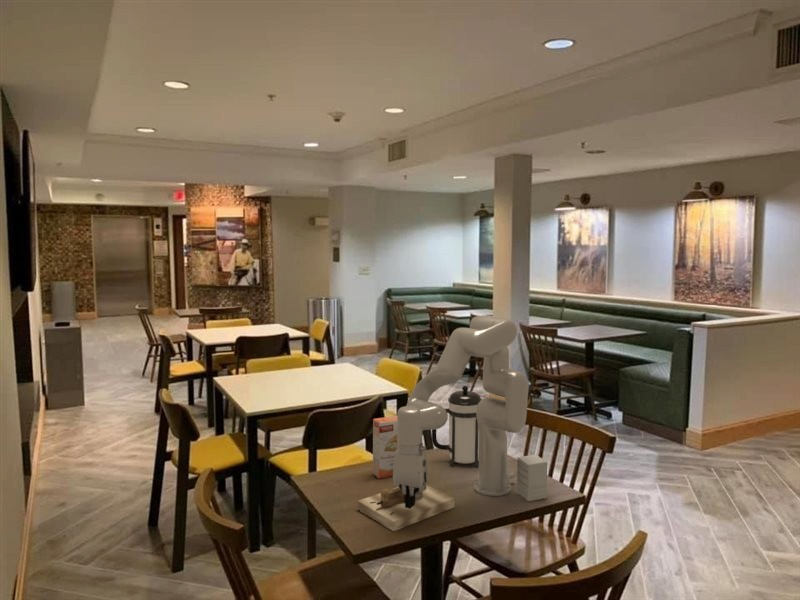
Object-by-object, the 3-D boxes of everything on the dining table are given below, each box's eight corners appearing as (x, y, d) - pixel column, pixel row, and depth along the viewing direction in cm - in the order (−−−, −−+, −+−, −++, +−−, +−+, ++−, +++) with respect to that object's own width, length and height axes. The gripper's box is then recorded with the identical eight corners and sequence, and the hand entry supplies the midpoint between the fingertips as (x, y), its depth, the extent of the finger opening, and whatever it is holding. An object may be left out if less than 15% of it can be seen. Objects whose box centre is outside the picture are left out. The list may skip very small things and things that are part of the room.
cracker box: (379, 480, 210) (379, 422, 208) (372, 474, 215) (372, 418, 213) (414, 473, 216) (414, 417, 214) (406, 467, 222) (406, 413, 220)
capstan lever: (415, 491, 193) (415, 476, 192) (425, 496, 189) (425, 481, 188) (372, 505, 182) (372, 490, 181) (382, 511, 178) (382, 495, 177)
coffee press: (463, 451, 238) (464, 378, 235) (492, 463, 225) (493, 386, 222) (430, 461, 228) (430, 385, 225) (458, 474, 215) (458, 393, 212)
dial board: (417, 489, 202) (417, 480, 202) (454, 507, 188) (454, 497, 188) (357, 509, 186) (357, 500, 186) (393, 531, 172) (393, 520, 172)
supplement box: (535, 489, 202) (535, 454, 200) (547, 498, 195) (548, 461, 193) (516, 492, 199) (516, 456, 198) (527, 501, 192) (528, 464, 191)
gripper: (437, 447, 177) (437, 506, 179) (393, 440, 184) (393, 496, 186) (427, 456, 171) (427, 516, 172) (382, 447, 177) (382, 506, 179)
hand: (409, 506), depth 179 cm, fingers closed
